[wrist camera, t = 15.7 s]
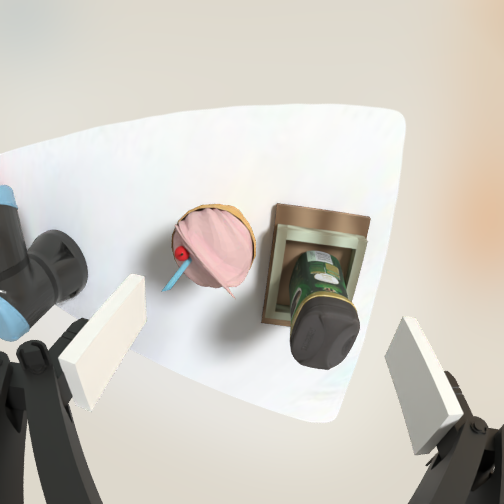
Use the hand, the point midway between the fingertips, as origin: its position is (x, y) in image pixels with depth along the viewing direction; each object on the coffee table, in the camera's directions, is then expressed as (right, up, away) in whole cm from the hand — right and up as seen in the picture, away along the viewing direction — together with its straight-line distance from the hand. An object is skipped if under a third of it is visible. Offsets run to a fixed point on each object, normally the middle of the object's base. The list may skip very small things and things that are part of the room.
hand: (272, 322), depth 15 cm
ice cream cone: (-5, +9, +35) cm, 37 cm away
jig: (+9, 0, +37) cm, 39 cm away
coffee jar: (+9, 0, +37) cm, 38 cm away
